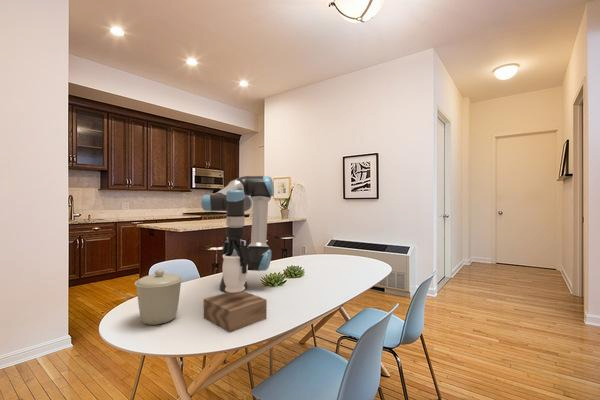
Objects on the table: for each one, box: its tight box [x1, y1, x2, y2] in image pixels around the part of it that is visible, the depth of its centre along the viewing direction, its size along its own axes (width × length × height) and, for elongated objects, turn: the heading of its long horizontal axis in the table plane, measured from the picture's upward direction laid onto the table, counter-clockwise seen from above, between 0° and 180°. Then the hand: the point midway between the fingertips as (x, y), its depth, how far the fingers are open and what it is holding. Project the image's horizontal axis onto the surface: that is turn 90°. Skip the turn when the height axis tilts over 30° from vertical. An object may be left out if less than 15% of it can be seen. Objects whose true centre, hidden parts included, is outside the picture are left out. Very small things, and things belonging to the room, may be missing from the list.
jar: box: [222, 253, 249, 293], centre depth 125 cm, size 11×10×15 cm
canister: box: [134, 268, 184, 326], centre depth 123 cm, size 18×18×21 cm
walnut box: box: [203, 290, 268, 333], centre depth 125 cm, size 20×18×8 cm
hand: (235, 278), depth 125 cm, fingers closed on jar, 10 cm apart
